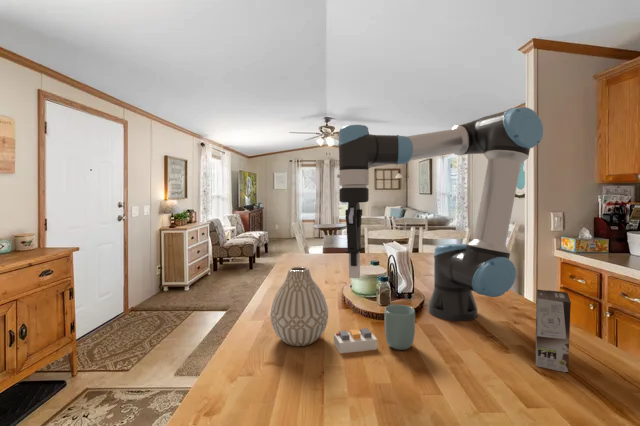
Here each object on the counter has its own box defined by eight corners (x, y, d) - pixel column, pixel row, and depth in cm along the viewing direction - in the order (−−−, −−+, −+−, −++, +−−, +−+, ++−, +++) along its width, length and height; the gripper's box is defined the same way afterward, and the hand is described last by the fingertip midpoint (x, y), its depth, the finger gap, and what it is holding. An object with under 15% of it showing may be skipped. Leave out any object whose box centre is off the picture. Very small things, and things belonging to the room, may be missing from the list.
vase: (283, 358, 86) (282, 278, 84) (263, 335, 100) (261, 266, 98) (339, 344, 93) (338, 270, 92) (312, 324, 107) (311, 260, 106)
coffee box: (569, 373, 77) (571, 302, 76) (535, 366, 80) (536, 297, 79) (566, 356, 84) (568, 291, 83) (535, 350, 88) (536, 288, 87)
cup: (416, 354, 87) (416, 315, 86) (384, 352, 88) (384, 313, 87) (414, 341, 94) (414, 305, 94) (384, 339, 96) (384, 303, 95)
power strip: (369, 340, 96) (369, 325, 95) (377, 350, 90) (377, 334, 90) (334, 344, 94) (333, 329, 93) (339, 354, 88) (339, 338, 88)
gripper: (343, 187, 96) (344, 271, 98) (334, 186, 84) (335, 283, 85) (370, 187, 95) (371, 272, 96) (365, 186, 82) (366, 284, 83)
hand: (354, 277), depth 91 cm, fingers closed
